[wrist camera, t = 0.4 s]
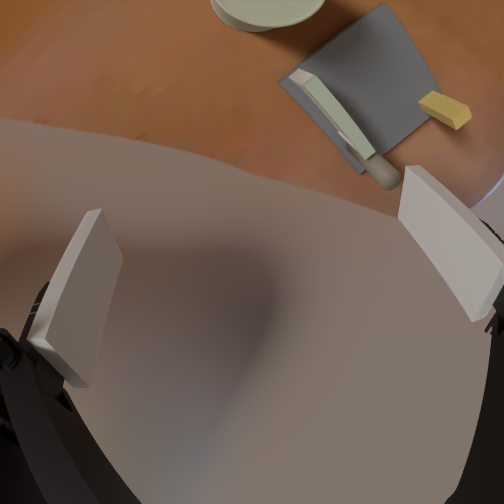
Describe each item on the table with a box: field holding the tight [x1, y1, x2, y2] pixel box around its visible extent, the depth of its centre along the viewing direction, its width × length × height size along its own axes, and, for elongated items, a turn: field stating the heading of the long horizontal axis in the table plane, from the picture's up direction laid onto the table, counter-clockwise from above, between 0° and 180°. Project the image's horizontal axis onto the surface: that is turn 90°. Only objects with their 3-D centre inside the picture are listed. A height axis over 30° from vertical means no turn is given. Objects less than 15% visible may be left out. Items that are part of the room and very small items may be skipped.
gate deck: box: [278, 3, 472, 190], centre depth 27 cm, size 17×16×11 cm
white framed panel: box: [289, 68, 376, 160], centre depth 29 cm, size 10×2×7 cm, turn 44°
